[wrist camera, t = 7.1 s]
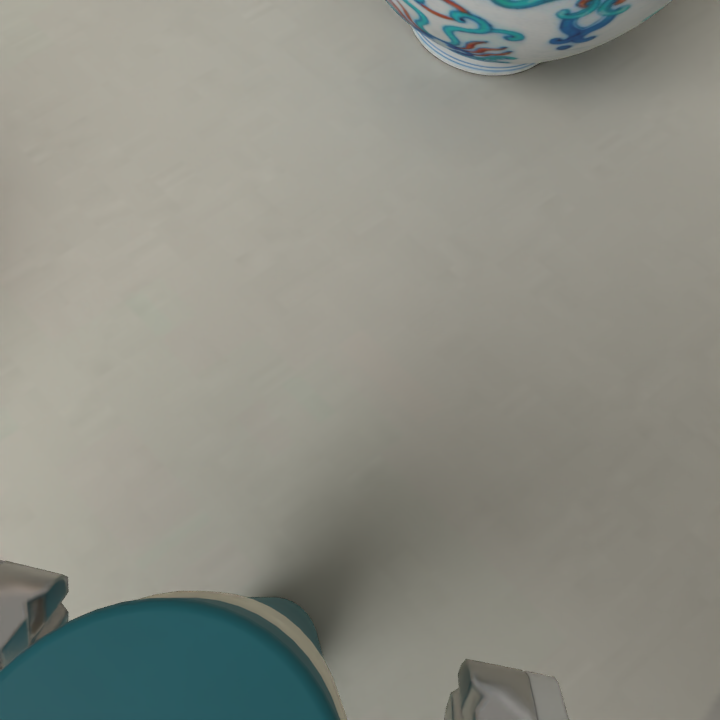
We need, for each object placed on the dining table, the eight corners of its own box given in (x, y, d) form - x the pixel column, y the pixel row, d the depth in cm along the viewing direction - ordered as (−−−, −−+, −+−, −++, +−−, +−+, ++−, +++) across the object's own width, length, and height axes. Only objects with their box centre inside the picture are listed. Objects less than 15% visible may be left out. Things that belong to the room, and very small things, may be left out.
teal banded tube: (328, 690, 16) (417, 1076, 3) (228, 715, 16) (-153, 1285, 3) (310, 586, 17) (323, 551, 4) (215, 607, 17) (-111, 643, 4)
